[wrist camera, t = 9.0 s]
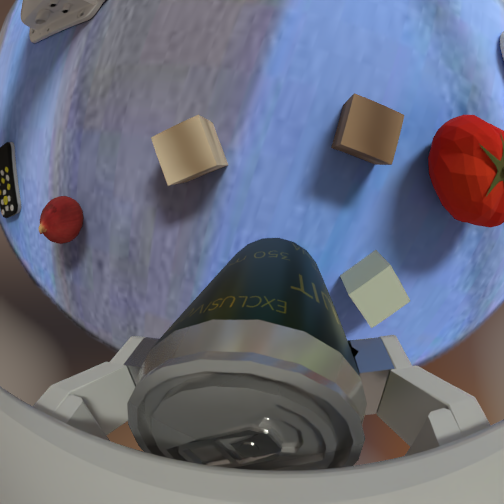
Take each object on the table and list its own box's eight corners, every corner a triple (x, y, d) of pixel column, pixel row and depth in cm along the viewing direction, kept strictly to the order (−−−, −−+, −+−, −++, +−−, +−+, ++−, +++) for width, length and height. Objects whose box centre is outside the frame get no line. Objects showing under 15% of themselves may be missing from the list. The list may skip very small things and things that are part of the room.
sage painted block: (361, 305, 31) (371, 328, 26) (339, 275, 30) (348, 294, 25) (394, 281, 29) (410, 300, 25) (375, 249, 29) (390, 264, 24)
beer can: (257, 337, 17) (212, 510, 5) (211, 264, 16) (76, 387, 5) (335, 298, 16) (399, 468, 4) (291, 218, 15) (304, 284, 4)
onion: (60, 208, 32) (20, 221, 24) (81, 183, 30) (39, 192, 23) (79, 242, 33) (40, 261, 25) (101, 219, 31) (60, 235, 24)
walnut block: (331, 147, 26) (340, 144, 21) (343, 104, 25) (354, 93, 20) (374, 164, 26) (391, 164, 21) (386, 122, 24) (404, 115, 20)
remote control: (16, 139, 30) (7, 139, 28) (24, 210, 33) (16, 213, 32) (0, 151, 31) (-8, 152, 29) (8, 217, 34) (1, 220, 32)
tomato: (497, 177, 23) (550, 188, 14) (449, 236, 27) (500, 266, 17) (447, 100, 22) (500, 84, 12) (393, 158, 25) (441, 158, 16)
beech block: (186, 182, 29) (168, 185, 24) (171, 141, 28) (151, 137, 23) (228, 165, 28) (217, 165, 23) (212, 122, 27) (198, 114, 22)
